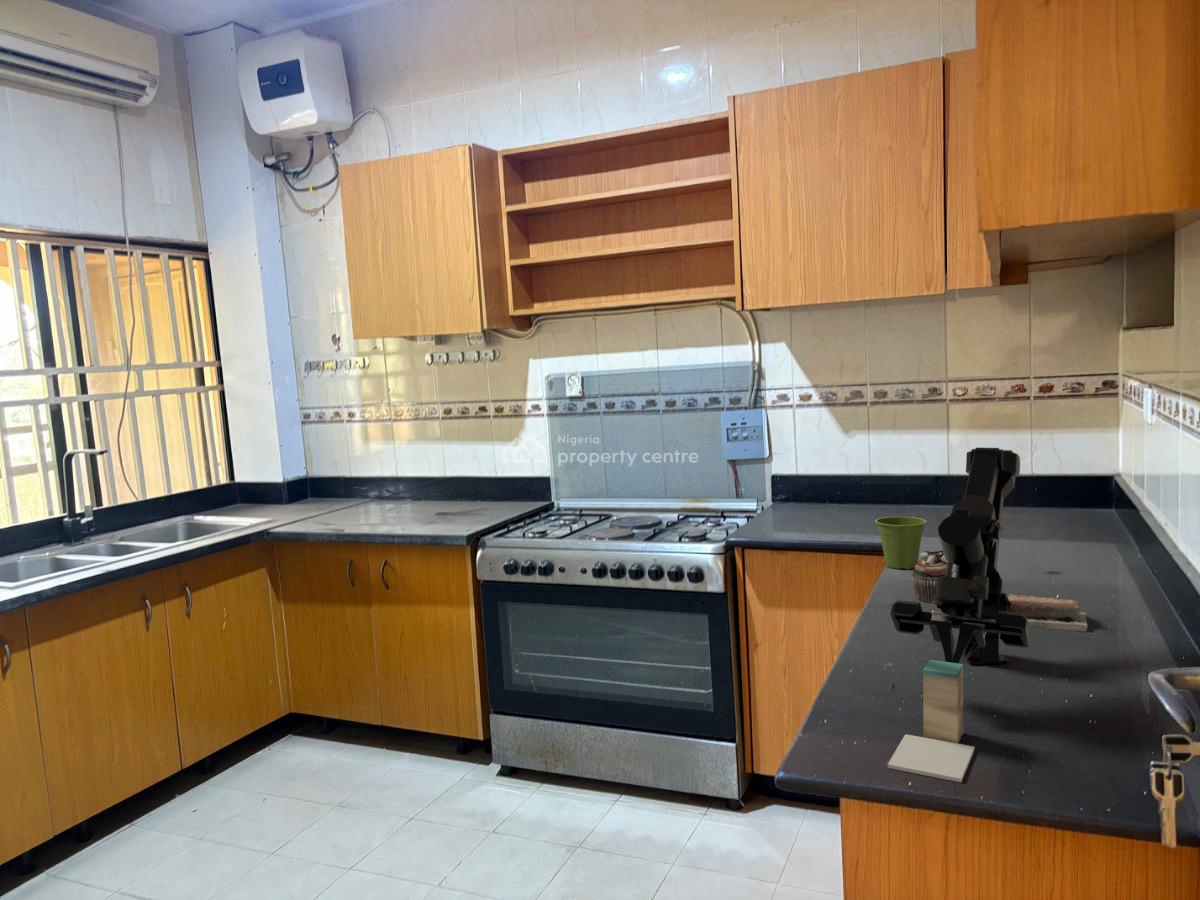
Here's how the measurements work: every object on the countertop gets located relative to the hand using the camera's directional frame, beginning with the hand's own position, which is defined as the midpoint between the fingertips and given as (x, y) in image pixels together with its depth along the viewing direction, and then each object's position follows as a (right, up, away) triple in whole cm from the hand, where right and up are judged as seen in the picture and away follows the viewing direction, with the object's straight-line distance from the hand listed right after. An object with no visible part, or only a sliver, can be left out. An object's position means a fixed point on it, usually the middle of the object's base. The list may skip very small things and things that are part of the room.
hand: (951, 675), depth 129 cm
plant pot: (+22, +4, +88) cm, 91 cm away
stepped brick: (+33, -1, +44) cm, 55 cm away
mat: (-7, -8, -11) cm, 15 cm away
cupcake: (+20, +1, +60) cm, 64 cm away
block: (-3, -7, -4) cm, 9 cm away
